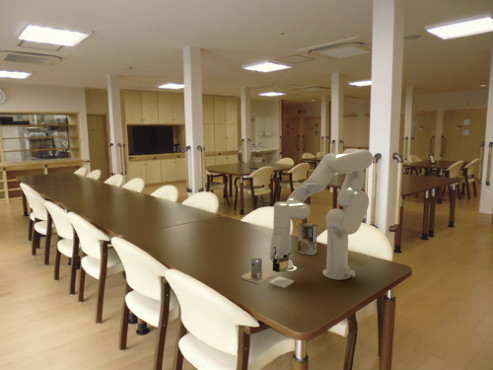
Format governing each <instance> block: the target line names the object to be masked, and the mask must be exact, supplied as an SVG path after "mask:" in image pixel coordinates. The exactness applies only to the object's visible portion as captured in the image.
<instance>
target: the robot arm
mask: <svg viewBox="0 0 493 370" xmlns="http://www.w3.org/2000/svg"><path fill="white" fill-rule="evenodd" d="M373 162H374V156H373V153H372V152H370V151H369V150H368V149H364V148H363V149H360V148H348V149H345V150H344V151H342V153H331V152H329V153H327V154H325V155H324V156H323V157H322V159H321V160H320V162H319V163H318V164H317V165H316V167H315V169H314V170H313V172H312V173H311V174H310V176H309V177H308V178H307V179H306V180H304V181H303V182H302V183H300V184H299V185H297V187H296V188H295V189H294V190H293V191H292V192H291V194H290V195H289V197H287V200H286V201H276V202H275V203H274V205H273V224H272V225H273V227H272V232H273V233H272V235H271V239H270V248H269V249H270V250H269V253H270V254H269V259H270V260H271V263H272V271H273V272H275V273H280V272H279V259H280V258H284V257H287V258H288V259H287V260H288V261H289V260H290V255H291V252H292V250H293V248H292V243H291V242H292V240H291V239H292V237H291V222H292V220H305V219H308V217H309V216H310V215H311V208H310V206H309V205H308V204H307V203H305V201H306V200H307V199H308V198H309V197H310V196H312V195H313V194H316V193H319V192H322V191H323V190H325V189H326V187H327V186H328V184H329V183H330V182H331V180H332V179H333V177H334V176H335V175H336V174H339V175H340V174H342V175H344V174H345V177H344V181H343V182H342V186H341V187H340V191H339V192H338V195H337V199H336V201H337V204H338V205H339V206H341V207H342V208H344V209H345V210H344V209H341V208H332V209H330V210H329V211H328V212H327V213H326V216H325V224H326V231H327V234H326V235H327V236H326V238H327V239H326V264H325V265H326V268H324V269H323V271H322V275H323V276H324V277H326V278H328V279H331V280H337V281H338V280H341V281H342V280H347V279H349V278H350V277H355V276H356V271H355V270H353V269H351V268H350V266H349V265H348V260H349V259H348V256H349V252H348V251H349V236H350V235H353V234H355V233H357V232H358V231H359V229H360V227H361V225H362V222H363V220H364V218H365V216H366V213H367V212H368V208H369V206H370V198H369V196H368V194H367V192H365V191H363V190H362V188H363V185H364V183H365V177H366V176H365V170H366V169H369V168H370V166H371V165H372V164H373ZM276 258H277V260H276Z"/></svg>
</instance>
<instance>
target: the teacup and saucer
mask: <svg viewBox="0 0 493 370" xmlns="http://www.w3.org/2000/svg"><path fill="white" fill-rule="evenodd" d="M292 267H293V268H292ZM297 268H298V267H297V266H295V265H294V263H293V260H292V259H289V261H288V270H287V271H286V272H293V271H296V270H297Z"/></svg>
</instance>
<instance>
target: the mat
mask: <svg viewBox="0 0 493 370" xmlns="http://www.w3.org/2000/svg"><path fill="white" fill-rule="evenodd" d="M294 282H295V281H294V280H293V279H289V278H286V277H283V276H281V275H279V276H277V277H275V278H274V279H271V280H270V281H268V283H269V284H271V285H272V286H273V285H274V286H276V287H280V288H282V289H283V288H286V287H289V286H290V285H292V284H293V283H294Z"/></svg>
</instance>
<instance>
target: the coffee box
mask: <svg viewBox="0 0 493 370" xmlns="http://www.w3.org/2000/svg"><path fill="white" fill-rule="evenodd" d="M297 230H298V233H297V234H298V235H297V242H298V243H297V254H303V255H308V256H314V255H315V254H317V247H318V246H317V242H318V241H317V240H318V239H317V238H318V237H317V236H318V224H315V223H308V222H307V223H305V222H301V223H300V224H299V225H297Z"/></svg>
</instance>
